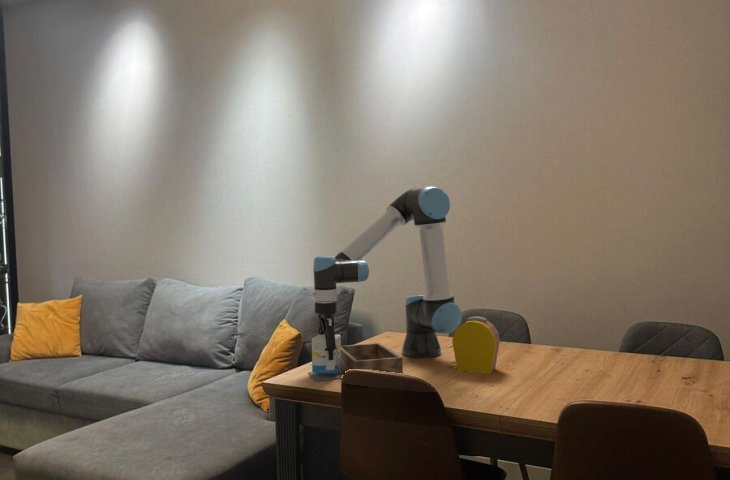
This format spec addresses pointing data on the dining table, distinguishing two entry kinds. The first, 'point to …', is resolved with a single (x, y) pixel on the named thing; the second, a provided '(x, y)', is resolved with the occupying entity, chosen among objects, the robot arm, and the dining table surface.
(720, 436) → the dining table surface
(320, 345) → the ink box
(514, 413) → the dining table surface
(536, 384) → the dining table surface
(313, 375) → the slate pad
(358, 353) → the walnut frame
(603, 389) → the dining table surface
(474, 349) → the yellow arched block
